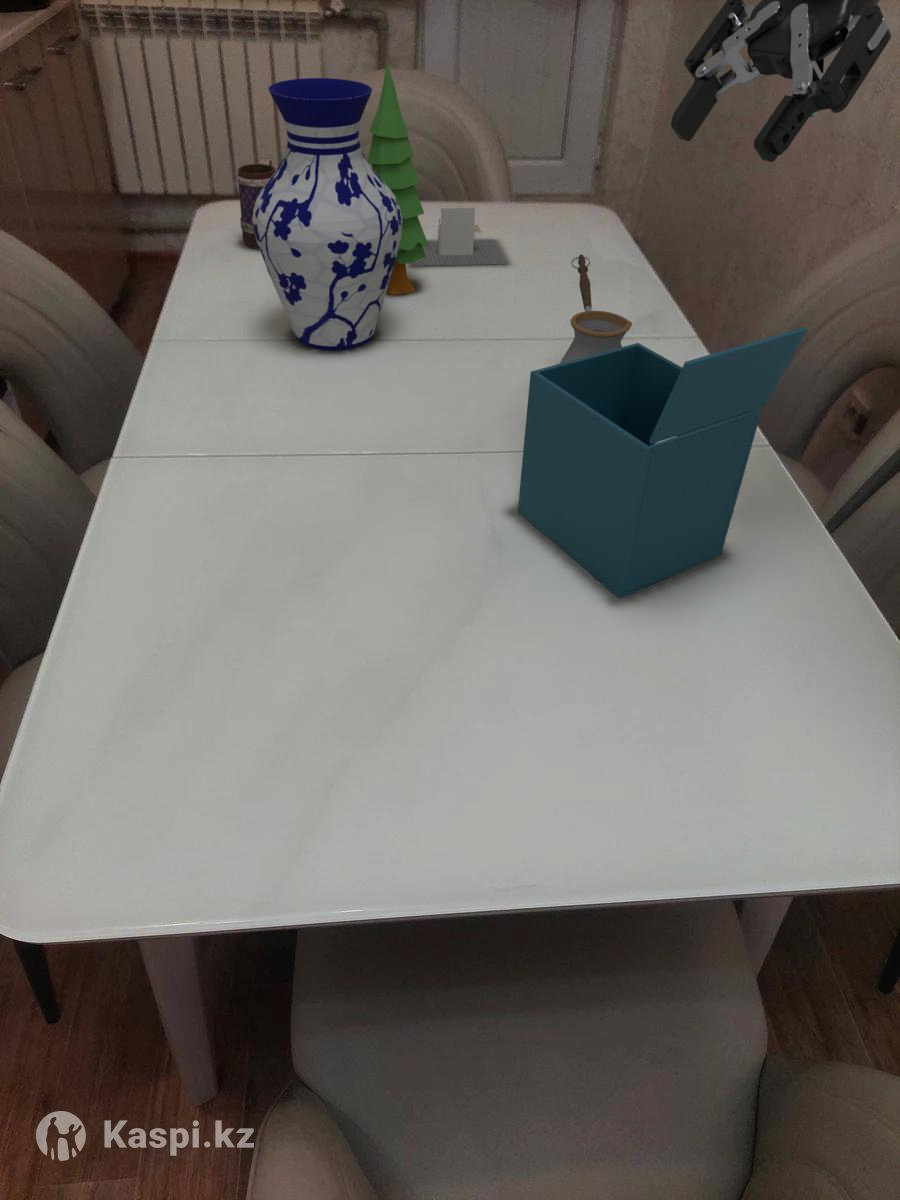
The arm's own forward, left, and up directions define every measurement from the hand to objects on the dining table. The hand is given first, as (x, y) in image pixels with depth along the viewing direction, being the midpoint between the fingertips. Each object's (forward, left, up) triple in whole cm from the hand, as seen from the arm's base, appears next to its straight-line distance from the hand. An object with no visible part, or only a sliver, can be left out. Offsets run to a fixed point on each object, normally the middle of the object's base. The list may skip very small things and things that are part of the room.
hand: (718, 143), depth 66 cm
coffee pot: (+10, -25, -36) cm, 45 cm away
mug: (+71, -67, -36) cm, 104 cm away
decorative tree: (+43, -54, -36) cm, 78 cm away
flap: (-4, +6, -16) cm, 17 cm away
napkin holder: (+39, -72, -36) cm, 89 cm away
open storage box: (+2, 0, -36) cm, 36 cm away
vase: (+46, -35, -36) cm, 68 cm away
